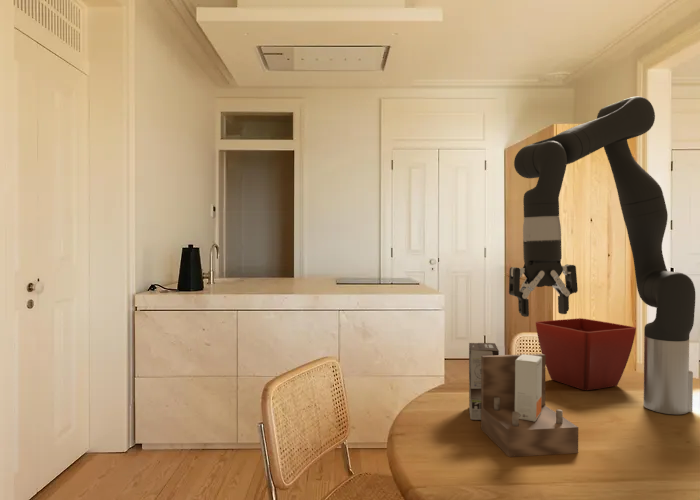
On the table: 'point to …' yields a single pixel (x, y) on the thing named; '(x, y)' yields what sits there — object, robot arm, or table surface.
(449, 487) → the table surface
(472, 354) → the coffee box
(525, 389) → the skincare box
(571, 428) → the peg shelf stand
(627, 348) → the plant pot
